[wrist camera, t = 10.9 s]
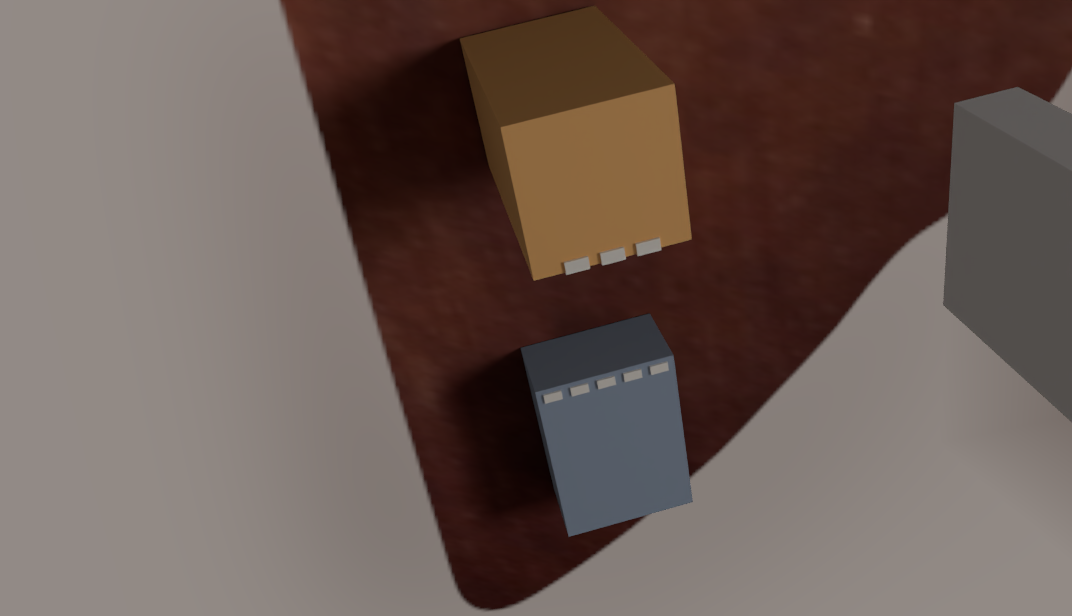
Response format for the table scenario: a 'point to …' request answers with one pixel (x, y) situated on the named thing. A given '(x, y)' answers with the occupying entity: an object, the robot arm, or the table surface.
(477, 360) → the table surface
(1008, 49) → the table surface
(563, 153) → the orange connector module
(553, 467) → the grey connector module
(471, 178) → the table surface
